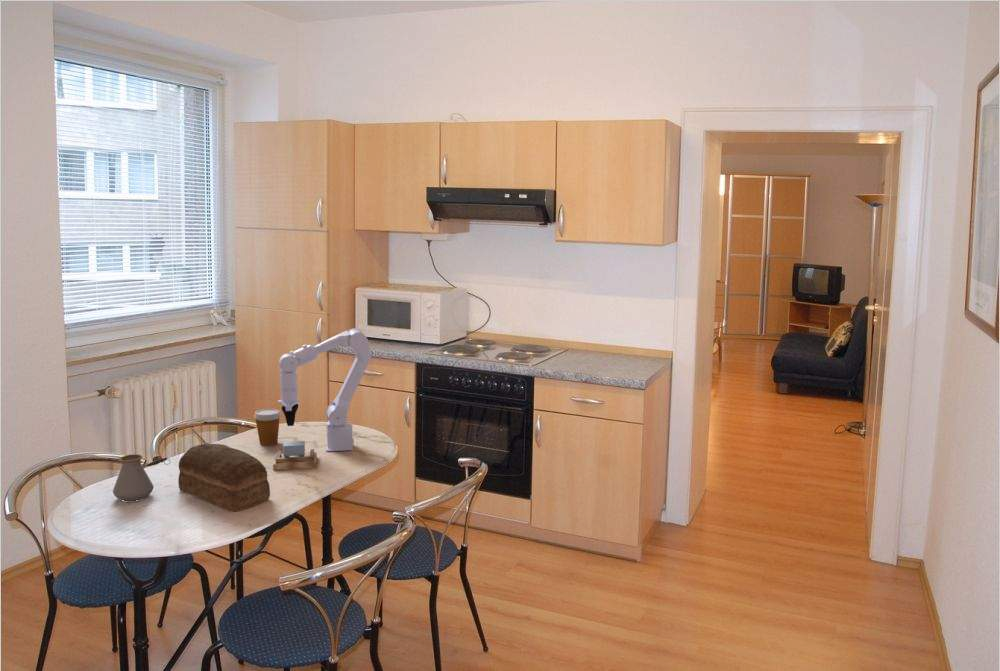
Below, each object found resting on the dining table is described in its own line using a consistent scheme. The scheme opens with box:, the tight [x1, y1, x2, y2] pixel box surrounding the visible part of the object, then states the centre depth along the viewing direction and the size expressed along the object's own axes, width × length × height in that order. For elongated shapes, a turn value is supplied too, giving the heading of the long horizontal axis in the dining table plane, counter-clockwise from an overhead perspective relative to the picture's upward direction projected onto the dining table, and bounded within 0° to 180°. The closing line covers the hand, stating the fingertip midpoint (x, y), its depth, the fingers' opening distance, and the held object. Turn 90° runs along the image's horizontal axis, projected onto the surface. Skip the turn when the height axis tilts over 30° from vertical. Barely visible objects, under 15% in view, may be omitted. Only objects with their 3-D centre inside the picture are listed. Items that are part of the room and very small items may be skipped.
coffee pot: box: [112, 453, 171, 502], centre depth 259 cm, size 21×12×15 cm, turn 64°
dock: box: [272, 448, 318, 471], centre depth 293 cm, size 14×11×4 cm
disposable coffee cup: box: [253, 408, 282, 447], centre depth 315 cm, size 10×10×12 cm
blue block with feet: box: [282, 440, 306, 458], centre depth 292 cm, size 7×5×5 cm, turn 100°
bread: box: [177, 442, 271, 512], centre depth 263 cm, size 15×32×16 cm, turn 52°
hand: (290, 425), depth 304 cm, fingers closed
